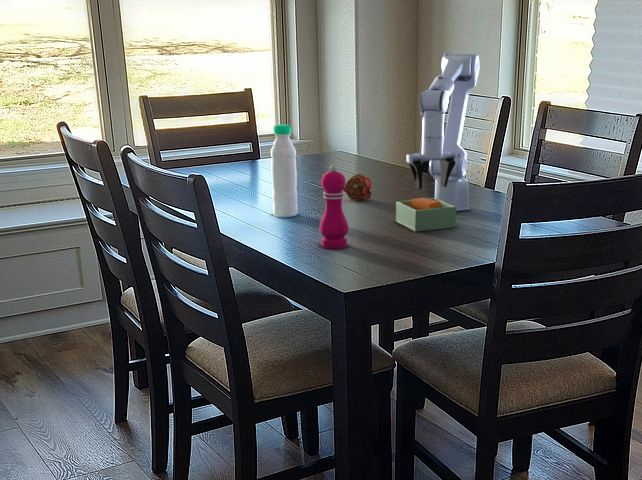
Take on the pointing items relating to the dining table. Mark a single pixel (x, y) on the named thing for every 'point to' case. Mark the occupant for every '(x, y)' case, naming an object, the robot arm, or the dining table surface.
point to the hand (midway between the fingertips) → (431, 187)
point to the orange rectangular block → (424, 204)
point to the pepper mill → (333, 210)
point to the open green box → (426, 216)
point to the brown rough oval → (358, 187)
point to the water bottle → (284, 173)
